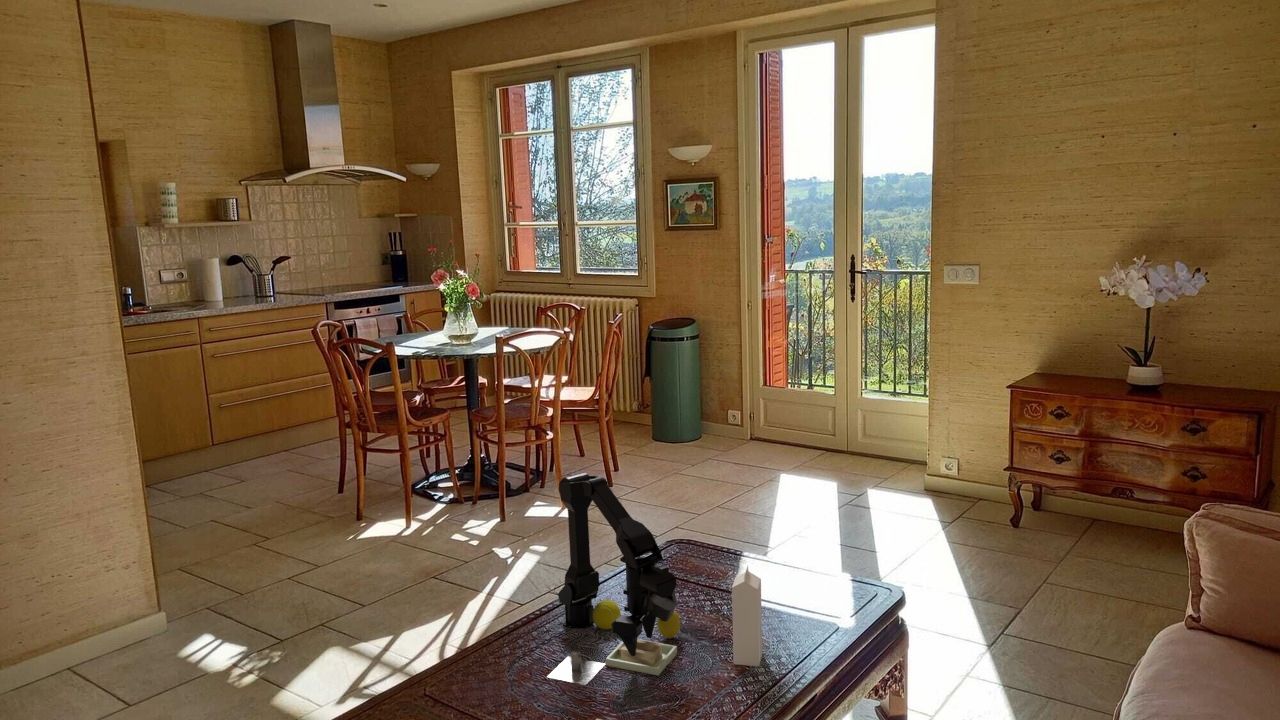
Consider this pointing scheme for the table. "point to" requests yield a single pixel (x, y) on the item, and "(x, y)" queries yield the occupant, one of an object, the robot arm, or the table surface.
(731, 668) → the table surface
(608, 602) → the tennis ball
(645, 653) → the wooden rectangular frame
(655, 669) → the tray
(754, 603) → the milk
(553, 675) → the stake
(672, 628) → the lemon
